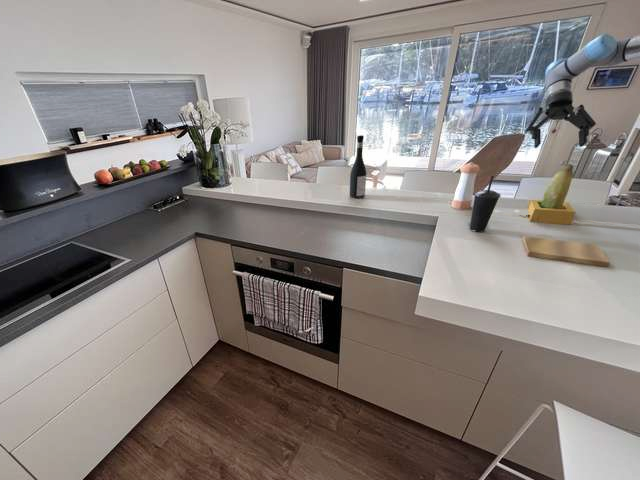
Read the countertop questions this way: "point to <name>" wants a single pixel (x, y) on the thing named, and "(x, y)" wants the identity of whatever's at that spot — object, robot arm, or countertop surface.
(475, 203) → the drinking cup
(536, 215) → the stand
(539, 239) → the board
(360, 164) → the wine bottle
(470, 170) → the pepper shaker
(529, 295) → the countertop surface
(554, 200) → the vegetable
